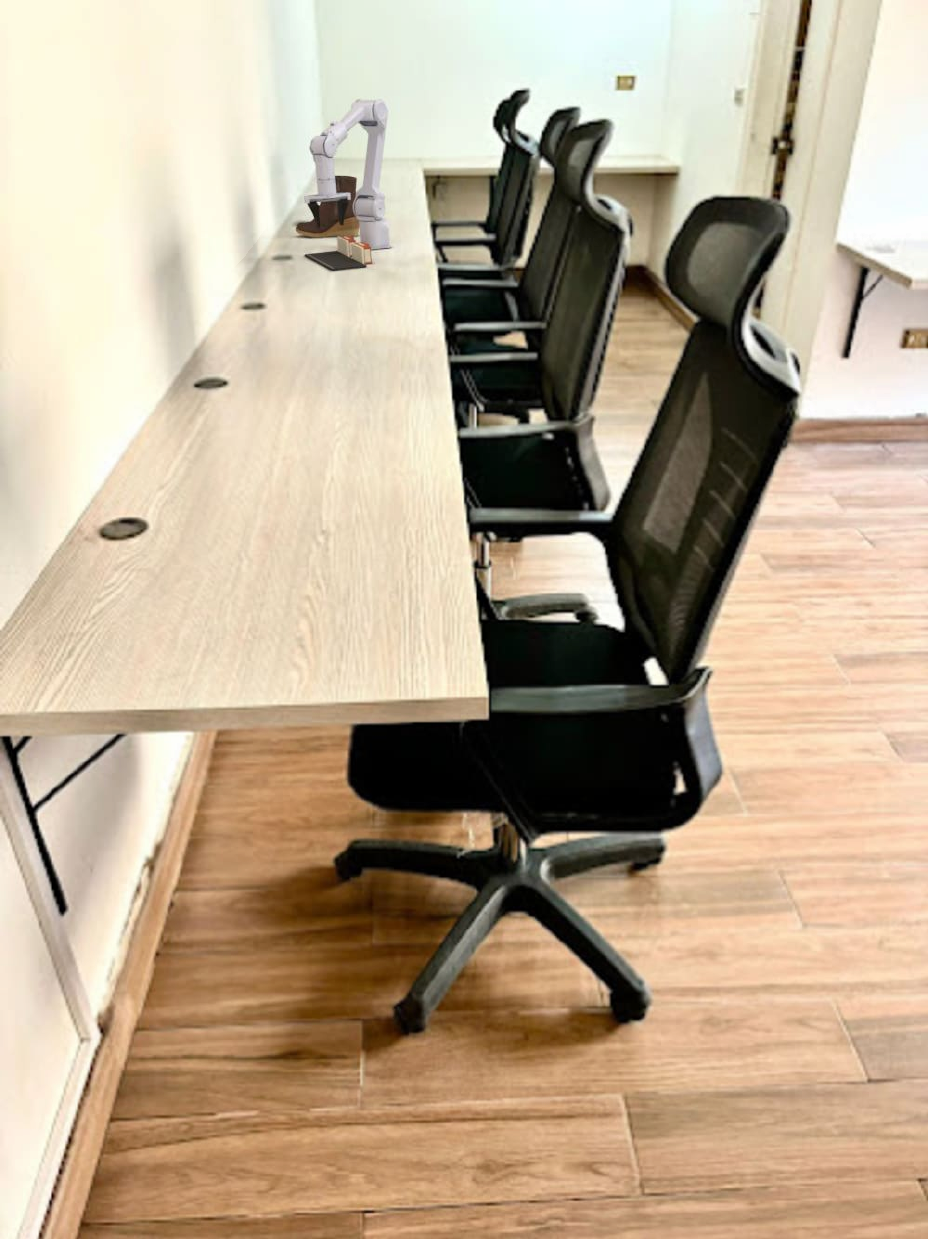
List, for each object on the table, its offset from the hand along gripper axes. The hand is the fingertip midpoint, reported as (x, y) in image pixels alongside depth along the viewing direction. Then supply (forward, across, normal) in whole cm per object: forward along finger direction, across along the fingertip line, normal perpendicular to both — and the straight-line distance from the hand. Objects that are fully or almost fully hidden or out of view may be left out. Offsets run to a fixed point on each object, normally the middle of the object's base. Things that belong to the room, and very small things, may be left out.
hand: (330, 225), depth 301 cm
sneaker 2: (+10, +7, -11) cm, 16 cm away
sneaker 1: (+10, +7, +3) cm, 12 cm away
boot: (+10, +12, +40) cm, 43 cm away
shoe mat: (+10, -1, -6) cm, 11 cm away
